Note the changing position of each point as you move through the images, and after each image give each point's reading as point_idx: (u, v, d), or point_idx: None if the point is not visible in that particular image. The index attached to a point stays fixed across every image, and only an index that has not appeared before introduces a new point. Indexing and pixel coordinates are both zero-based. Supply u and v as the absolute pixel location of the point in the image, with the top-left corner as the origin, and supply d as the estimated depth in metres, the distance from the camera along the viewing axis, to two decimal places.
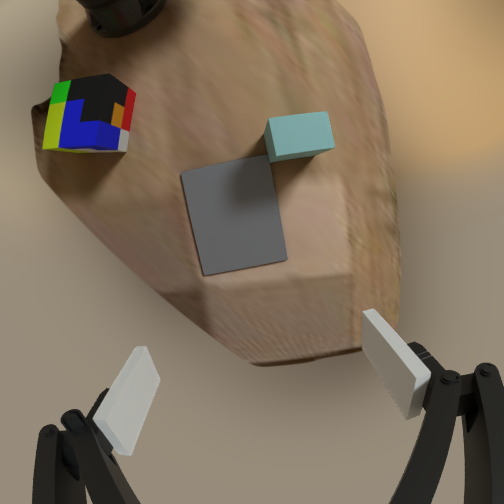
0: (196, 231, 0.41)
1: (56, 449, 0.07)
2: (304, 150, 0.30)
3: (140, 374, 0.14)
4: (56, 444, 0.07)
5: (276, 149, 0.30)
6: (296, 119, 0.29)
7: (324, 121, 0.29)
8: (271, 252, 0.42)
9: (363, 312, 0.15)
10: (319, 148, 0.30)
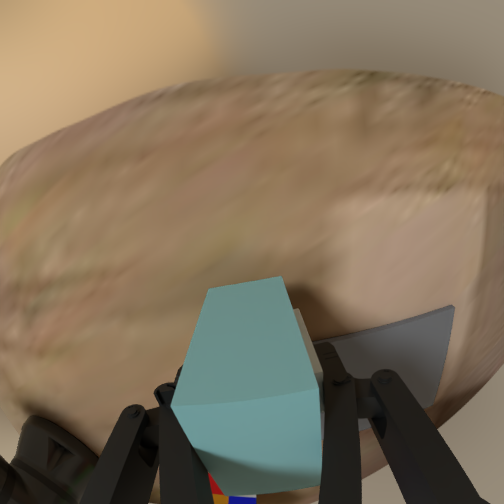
0: None
1: (136, 434, 0.09)
2: (318, 453, 0.08)
3: None
4: (138, 428, 0.09)
5: (306, 486, 0.09)
6: (220, 467, 0.08)
7: (213, 417, 0.07)
8: (439, 332, 0.20)
9: None
10: (316, 426, 0.08)
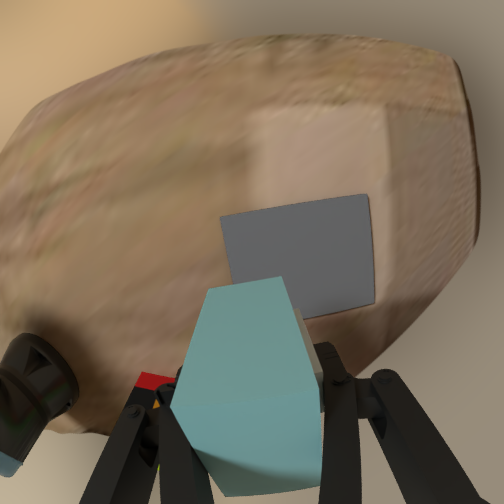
0: (320, 312, 0.31)
1: (136, 434, 0.09)
2: (318, 453, 0.08)
3: None
4: (138, 428, 0.09)
5: (306, 487, 0.09)
6: (220, 467, 0.08)
7: (213, 417, 0.07)
8: (356, 215, 0.29)
9: None
10: (317, 426, 0.08)
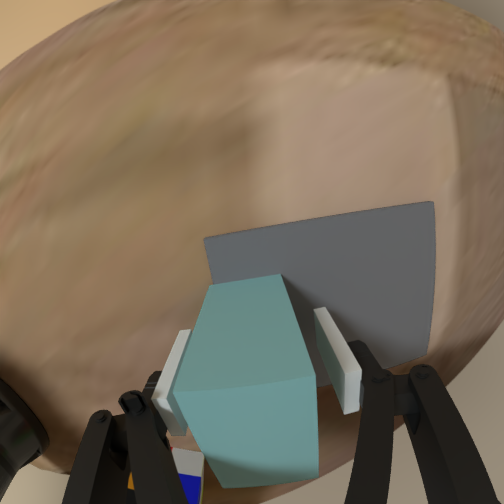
0: None
1: (105, 437, 0.08)
2: (315, 443, 0.09)
3: None
4: (107, 432, 0.08)
5: (302, 479, 0.09)
6: (219, 456, 0.09)
7: (213, 403, 0.08)
8: (419, 235, 0.17)
9: (314, 310, 0.16)
10: (313, 414, 0.08)
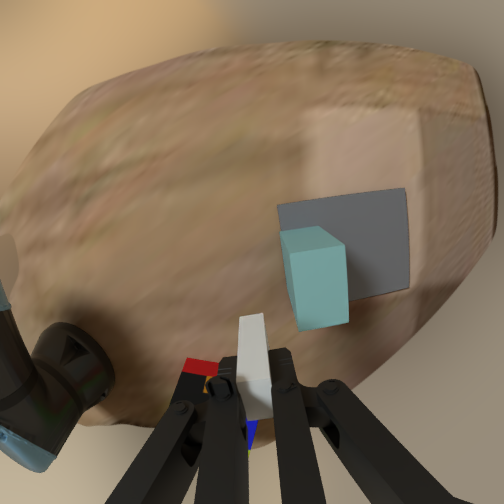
0: (363, 294, 0.33)
1: (181, 433, 0.09)
2: (346, 288, 0.22)
3: None
4: (184, 427, 0.09)
5: (340, 322, 0.23)
6: (302, 298, 0.22)
7: (305, 258, 0.22)
8: (396, 207, 0.30)
9: (251, 316, 0.17)
10: (344, 267, 0.22)
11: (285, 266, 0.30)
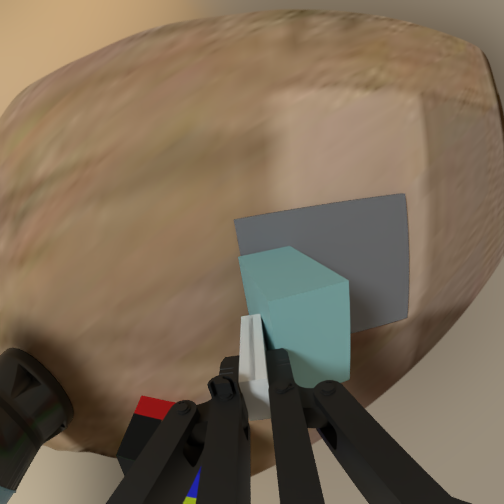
0: None
1: (183, 433, 0.09)
2: (348, 339, 0.15)
3: None
4: (186, 427, 0.09)
5: (339, 381, 0.16)
6: None
7: (292, 306, 0.14)
8: (393, 218, 0.23)
9: (249, 316, 0.17)
10: (347, 312, 0.15)
11: (250, 304, 0.22)
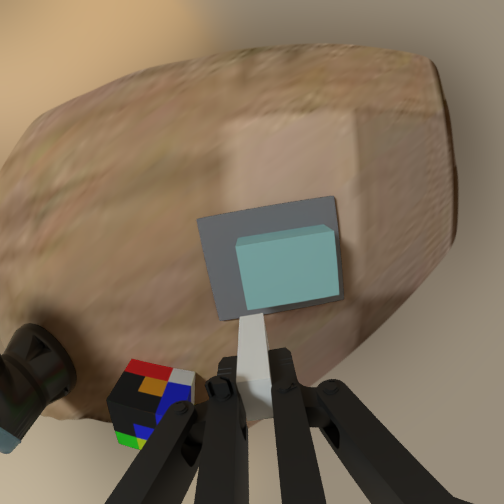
0: (291, 306, 0.34)
1: (181, 433, 0.09)
2: None
3: None
4: (184, 427, 0.09)
5: None
6: None
7: None
8: (323, 216, 0.32)
9: (251, 316, 0.17)
10: None
11: (264, 275, 0.28)
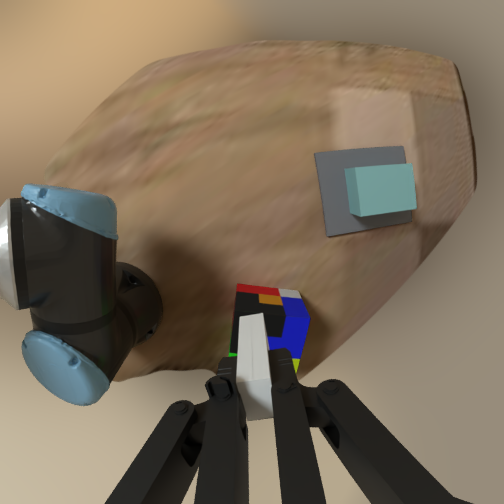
0: (378, 224, 0.42)
1: (181, 433, 0.09)
2: None
3: None
4: (184, 427, 0.09)
5: None
6: None
7: None
8: (397, 159, 0.40)
9: (251, 316, 0.17)
10: None
11: (372, 189, 0.36)
